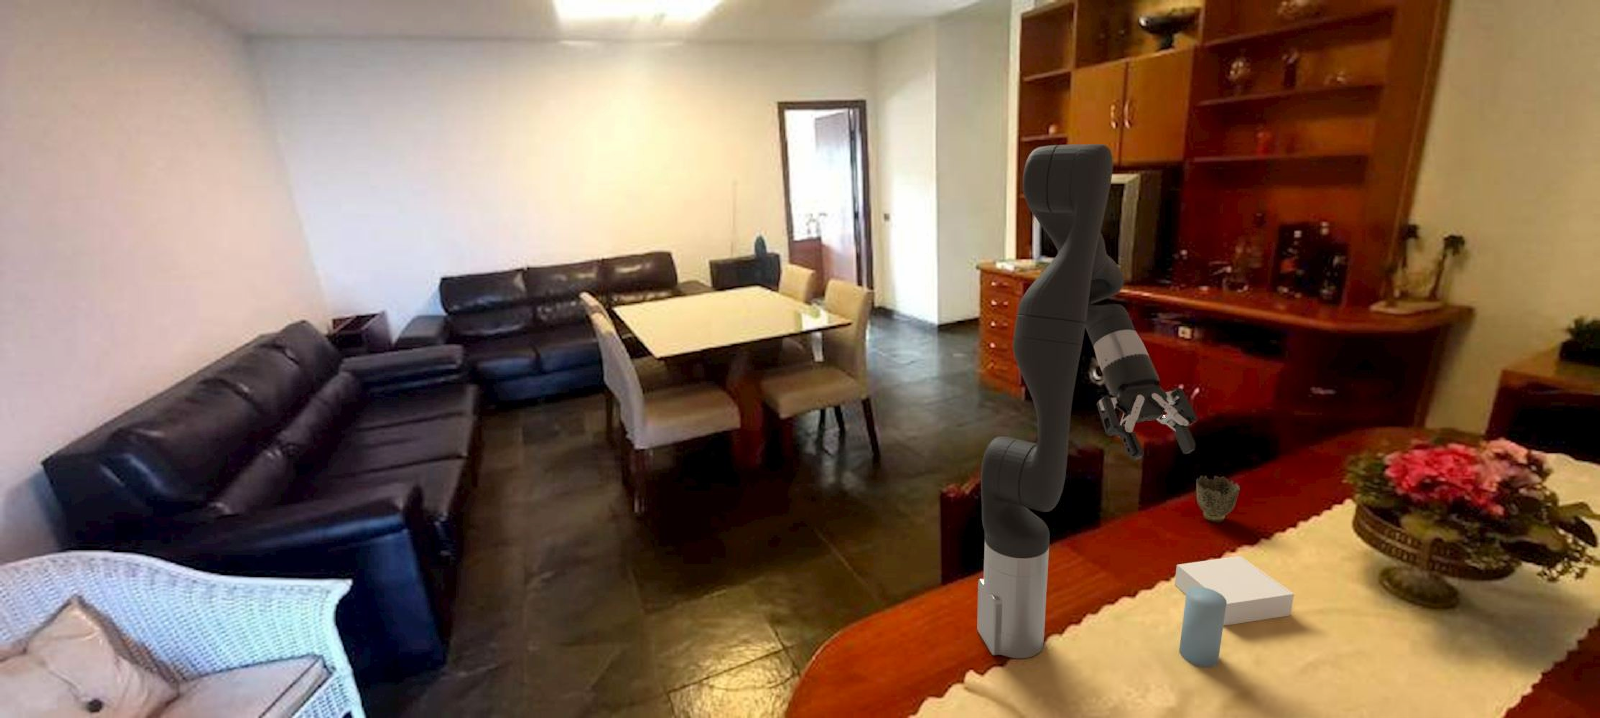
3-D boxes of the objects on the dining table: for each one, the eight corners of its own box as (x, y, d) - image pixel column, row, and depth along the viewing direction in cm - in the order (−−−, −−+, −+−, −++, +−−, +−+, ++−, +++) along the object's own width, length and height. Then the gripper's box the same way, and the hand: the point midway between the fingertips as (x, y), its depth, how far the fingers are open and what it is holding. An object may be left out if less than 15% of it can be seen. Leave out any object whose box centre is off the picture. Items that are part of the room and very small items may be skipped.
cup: (1228, 511, 138) (1233, 476, 135) (1240, 529, 131) (1245, 492, 129) (1187, 508, 140) (1192, 473, 137) (1197, 526, 133) (1202, 490, 131)
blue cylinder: (1195, 669, 96) (1202, 610, 94) (1171, 646, 101) (1178, 589, 98) (1226, 664, 97) (1235, 605, 94) (1201, 641, 102) (1209, 584, 99)
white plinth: (1222, 625, 105) (1225, 604, 104) (1174, 584, 115) (1176, 564, 114) (1290, 615, 106) (1294, 593, 105) (1237, 575, 117) (1240, 555, 116)
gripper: (1095, 356, 106) (1133, 451, 98) (1176, 348, 108) (1221, 440, 100) (1075, 378, 113) (1110, 468, 105) (1152, 370, 114) (1192, 458, 107)
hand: (1164, 454), depth 103 cm, fingers open, 8 cm apart
